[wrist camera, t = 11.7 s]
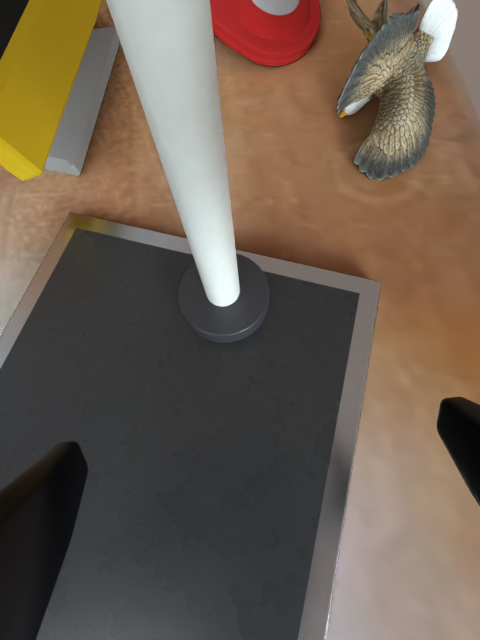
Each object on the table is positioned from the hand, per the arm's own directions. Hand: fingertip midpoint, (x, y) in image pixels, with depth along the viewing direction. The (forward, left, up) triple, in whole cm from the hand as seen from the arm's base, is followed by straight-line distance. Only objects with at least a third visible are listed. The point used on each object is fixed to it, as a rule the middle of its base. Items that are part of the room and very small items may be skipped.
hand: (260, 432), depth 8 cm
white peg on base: (+6, +3, -7) cm, 9 cm away
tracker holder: (+30, +7, -8) cm, 32 cm away
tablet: (-3, +5, -7) cm, 9 cm away
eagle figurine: (+21, -2, -8) cm, 22 cm away
